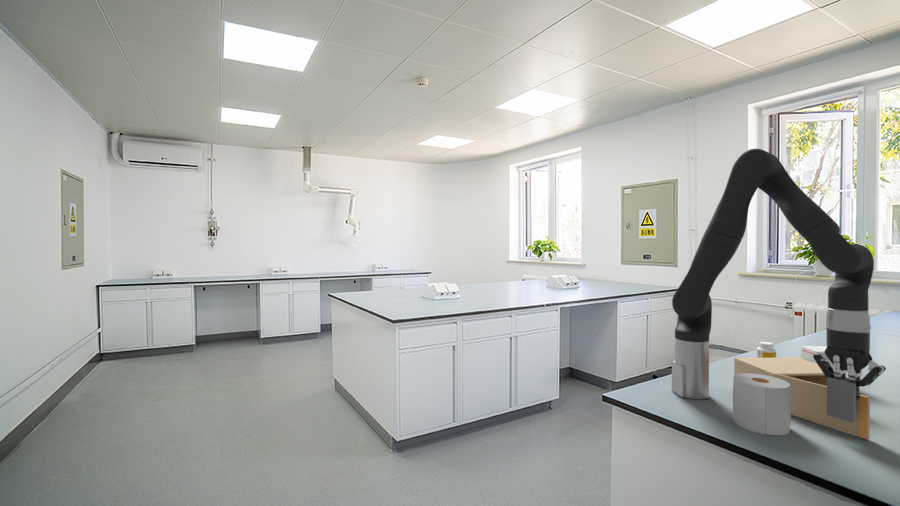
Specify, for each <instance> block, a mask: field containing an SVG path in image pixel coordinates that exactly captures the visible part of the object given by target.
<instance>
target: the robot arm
mask: <svg viewBox="0 0 900 506" xmlns="http://www.w3.org/2000/svg"><path fill="white" fill-rule="evenodd" d="M758 189H759V190H761V191H762V192H763V193H765V194H766V195H767V196H768V197H770V199H772V200H773V202H775V205H777V206H778V208H779V210H780V211H781V212H782V214H783V216H784V218H786V221H787V222H788V223H789V224H790V225H791V227H792V228H794V229H795V230H796V231H797V233H798V234H799V235H800V236H801V237H802V238H803V239H804V240H805V241H807V243H808V244H809V246H810V247H811V249H812V251H813V253H814V254H815V256H816V257H817V259H818V261H819V262H820V263H821V264H822V265H823V266H824V267H825V268H826V269H827V270H829V271H831V272H832V273H835V276H834V282H833V284H831V285H830V286H829V287H828V291H827V313H826V347H827V348H826V349H825V353H822V354H817V355H814V356H813V358H814V360H815V361H816V363H817V364H818V366H819V367H820V369H821V370H822V372H823V373H824V375H825V376H826V377H827V378H829V377H830V378H834V379H838V380H840V379H844V378H847V376H848V377H849V382H851V383H855V384H856V400H858V399H859V398H860V395H861V394H860V388H861V387H866V386H867V387H868V386H871V384H873V383H874V381H876V380H877V379H878V378H879V377H880V376H881V375H882V374H883V373H884V372H885V371H886V369H887V368H886V366H885V365H879V364H878V363H877V362H875V361H874V360H873V357H872V356H871V353H870V350H871V319H870V313H869V288H870V285H871V282H872V277H873V273H874V269H875V268H874V267H875V265H874V264H875V262H874V261H875V260H874V256H873V254H872V252H871V250H870V249H869V248H867V247H866V246H864V245H860V244H857V243H856V244H855V243H849V242H848V241H847V239H845V237H844V236H843V235H842V234H841V227H840V226H839V224H838V223H837V222H836V221H835V220H834V219H833V218H832V217H831V216H830V215H829V214H828V213H827V212H825V210H823V209H822V208H821V207H820V205H818V204H817V203H816V202H815V201H814V200H813V199H812V198H810V197H809V196H808V195H807V194H806V193H805V192H804V191H803V190H802V189H801V187H799V186H798V185H797V184H796V182H795V181H794V179H793V178H791V176H790V175H789V173H788V171H787V170H786V168H785V167H784V165H783V164H782V162H781V161H780V159H779V158H778V157H777V156H776V155H775V154H773V153H771V152H768V151H766V150H764V149H761V148H751V149H747V150H745V151H744V152H742V153H741V154H740V155H739V156H738V157H737V158H736V160H735V161H734V162H733V166H732V168H731V171H730V172H729V177H728V180H727V182H726V186H725V189H724V191H723V194H722V197H721V198H720V200H719V203H718V204H717V206H716V208H715V210H714V213H713V215H712V217H711V219H710V221H709V224H708V225H707V227H706V229H705V230H704V234H703V235H702V237H701V240H700V242H699V245H698V247H697V250H696V251H695V254H694V256H693V259H692V262H691V265H690V267H689V268H688V272H687V273H686V275H685V276H684V279H683V280H682V281H681V284H680V285H679V286H678V288H677V289H676V291H675V293H674V295H673V297H672V300H671V304H672V309H673V311H674V312H675V313H676V315H677V324H676V326H675V329H674V360H672V361H671V392H674V393H675V394H676V395H677V396H679V397H681V398H685V399H687V398H688V399H693V400H706V399H708V398H709V397H710V334H711V329H712V314H713V311H712V309H713V308H712V307H713V306H712V305H713V304H712V297H711V295H710V292H711V291H712V288H713V286H714V284H715V281H716V280H717V278H718V277H719V275H720V274H721V273H722V272H723V271H724V269H725V268H726V266H727V265H728V264H729V262H730V261H731V260H732V259H733V256H735V253H736V252H737V250H738V248H739V246H740V244H741V242H742V239H744V237H745V236H744V235H745V233H746V229H747V225H748V224H747V223H748V215H749V207H750V204H751V201H752V199H753V197H754V195H755V193H756V191H757V190H758ZM828 359H829V360H830V361H831V362H832V364H833V365H834V370H833V368H832V367H831V365H830V364H829V362H828ZM866 367H868V368H867V370H868V371H869V372H868V373H866V375H865V376H864V377H863V378H862V375H863V372H862V371H863V369H865V368H866Z"/></svg>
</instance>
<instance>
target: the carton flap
mask: <svg viewBox="0 0 900 506" xmlns="http://www.w3.org/2000/svg"><path fill="white" fill-rule="evenodd" d="M774 377H775V378H779V379H782V380H784V381H786V382H788V383H789V384H790V388H791V416H794V417H797V418H800V419H802V420H806V421H810V422H813V423H816V424H818V425H821V426H825V427H829V428H831V429H835V430H837V431H841V432H844V433H846V434H850V435H853V436H856V437H859V438H861V439H864V440H870V433H871V432H870V428H871V427H870V426H871V425H870V423H871V421H870V420H871V397H870V396H866V395H864V394H860V398H859V399H858V400H856V384H855V383H851V382H849V376H848V377H846V378H844V379H840V380H838V379H834V378H830V377H829V378H827V386H824V385H820V384H816V383H812V382H808V381H804V380H800V379H796V378H792V377H788V376H784V375H780V374H776V373H775V374H774Z"/></svg>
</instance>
